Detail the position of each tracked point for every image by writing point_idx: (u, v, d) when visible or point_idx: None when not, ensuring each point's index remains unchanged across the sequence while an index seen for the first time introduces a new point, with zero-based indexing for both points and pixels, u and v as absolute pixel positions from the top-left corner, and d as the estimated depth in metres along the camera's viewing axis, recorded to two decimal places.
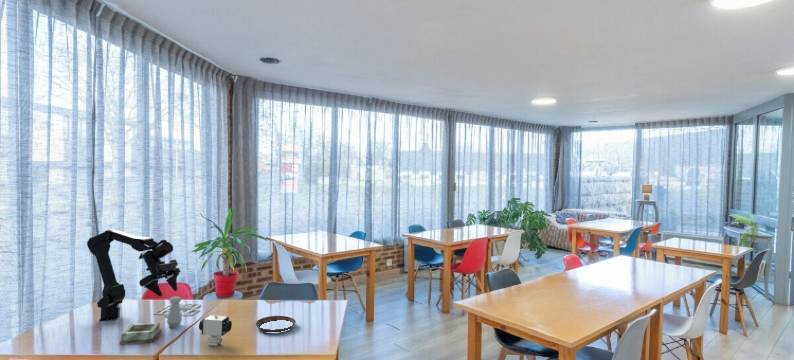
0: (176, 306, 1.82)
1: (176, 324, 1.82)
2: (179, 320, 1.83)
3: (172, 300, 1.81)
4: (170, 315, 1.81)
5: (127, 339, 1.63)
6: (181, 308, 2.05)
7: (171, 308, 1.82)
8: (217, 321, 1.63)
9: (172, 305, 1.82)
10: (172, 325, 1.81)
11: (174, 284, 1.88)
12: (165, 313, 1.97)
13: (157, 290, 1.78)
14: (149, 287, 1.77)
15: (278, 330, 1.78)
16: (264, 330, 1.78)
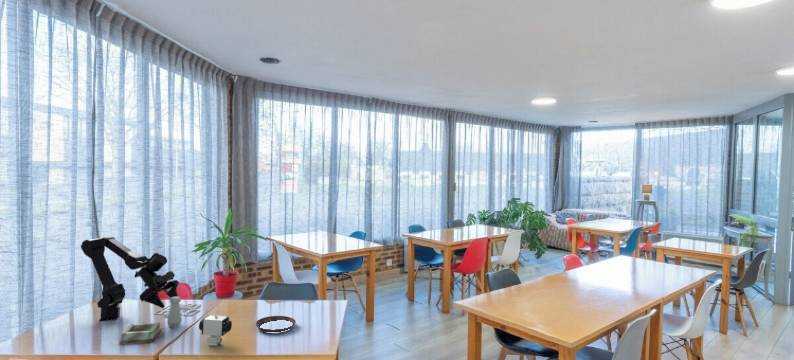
0: (176, 306, 1.82)
1: (176, 324, 1.82)
2: (179, 320, 1.83)
3: (172, 300, 1.81)
4: (170, 315, 1.81)
5: (127, 339, 1.63)
6: (181, 308, 2.05)
7: (171, 308, 1.82)
8: (217, 321, 1.63)
9: (172, 305, 1.82)
10: (172, 325, 1.81)
11: (175, 295, 1.89)
12: (164, 313, 1.97)
13: (159, 302, 1.79)
14: (150, 301, 1.78)
15: (278, 330, 1.78)
16: (264, 330, 1.78)
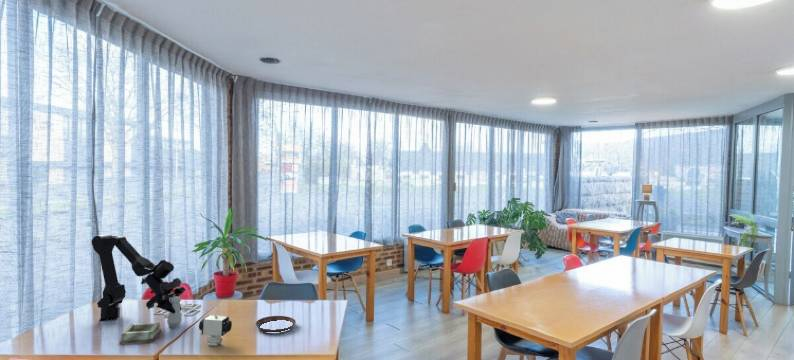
0: (176, 306, 1.82)
1: (176, 324, 1.82)
2: (179, 320, 1.83)
3: (172, 300, 1.81)
4: (170, 315, 1.81)
5: (127, 339, 1.63)
6: (181, 308, 2.05)
7: None
8: (217, 321, 1.63)
9: (172, 305, 1.82)
10: (172, 325, 1.81)
11: None
12: (164, 313, 1.97)
13: (170, 307, 1.81)
14: (161, 306, 1.80)
15: (278, 330, 1.78)
16: (264, 330, 1.78)
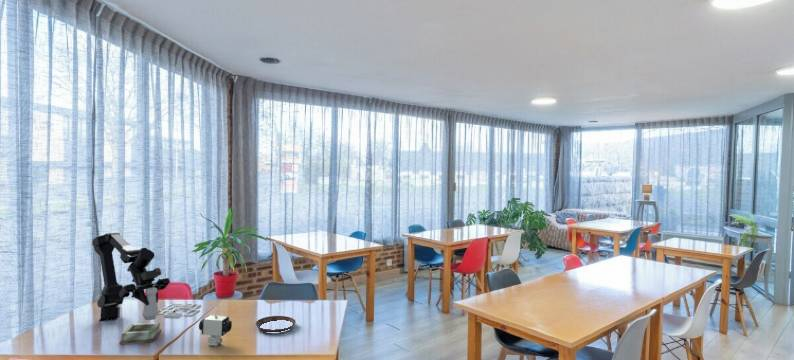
0: (150, 298, 1.71)
1: (150, 317, 1.70)
2: (153, 313, 1.71)
3: (146, 291, 1.71)
4: (144, 307, 1.71)
5: (127, 339, 1.63)
6: (181, 308, 2.05)
7: None
8: (217, 321, 1.63)
9: (147, 296, 1.71)
10: (146, 318, 1.70)
11: None
12: None
13: (143, 299, 1.70)
14: (137, 296, 1.71)
15: (278, 330, 1.78)
16: (264, 330, 1.78)
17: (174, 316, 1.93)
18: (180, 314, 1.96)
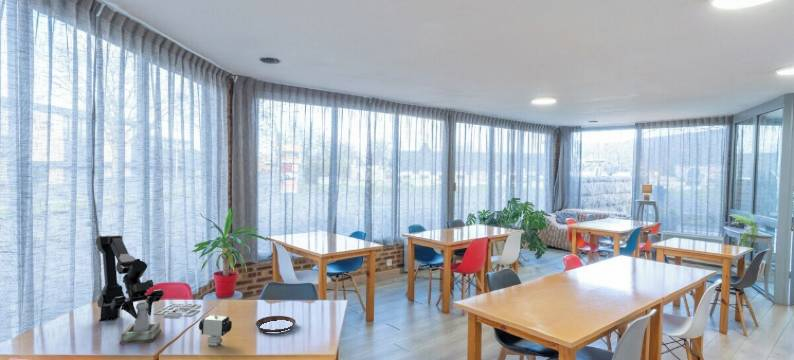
0: (141, 313, 1.68)
1: None
2: (143, 329, 1.67)
3: (137, 306, 1.68)
4: (135, 322, 1.68)
5: (127, 339, 1.63)
6: (181, 308, 2.05)
7: None
8: (217, 321, 1.63)
9: (137, 311, 1.68)
10: None
11: (148, 308, 1.71)
12: (164, 313, 1.97)
13: (132, 312, 1.66)
14: (126, 309, 1.68)
15: (278, 330, 1.78)
16: (264, 330, 1.78)
17: (174, 316, 1.93)
18: (180, 314, 1.96)
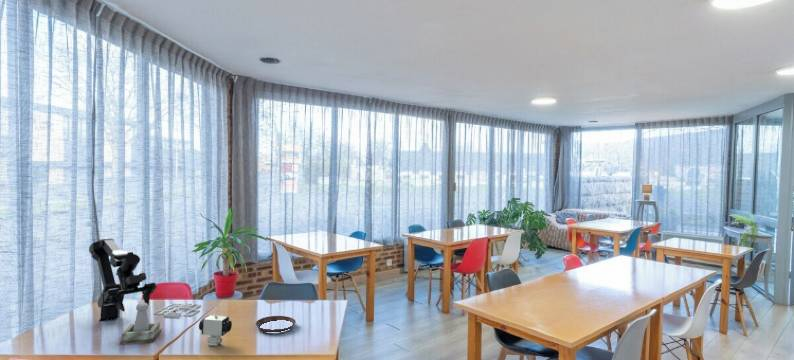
0: (141, 314, 1.68)
1: None
2: (143, 330, 1.67)
3: (137, 307, 1.67)
4: (135, 323, 1.68)
5: (127, 339, 1.63)
6: (181, 308, 2.05)
7: None
8: (217, 321, 1.63)
9: (137, 312, 1.68)
10: None
11: (146, 299, 1.77)
12: (164, 313, 1.97)
13: (119, 305, 1.69)
14: (114, 302, 1.70)
15: (278, 330, 1.78)
16: (264, 330, 1.78)
17: (174, 316, 1.93)
18: (180, 314, 1.96)
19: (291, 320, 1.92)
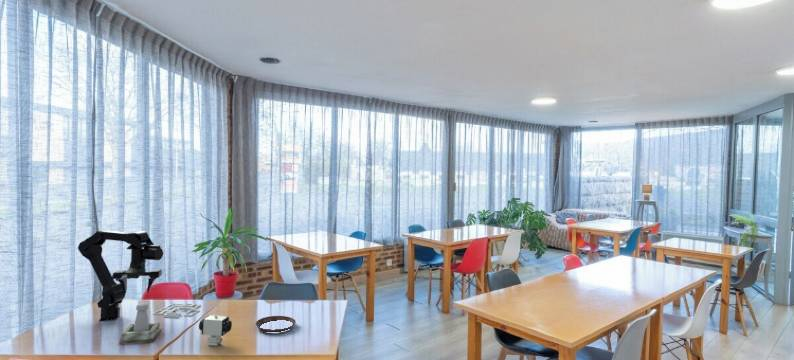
0: (141, 314, 1.68)
1: None
2: (143, 330, 1.67)
3: (137, 307, 1.67)
4: (135, 323, 1.68)
5: (127, 339, 1.63)
6: (181, 308, 2.05)
7: None
8: (217, 321, 1.63)
9: (137, 312, 1.68)
10: None
11: (148, 286, 1.88)
12: None
13: None
14: None
15: (278, 330, 1.78)
16: (264, 330, 1.78)
17: (174, 316, 1.93)
18: (180, 314, 1.96)
19: (291, 320, 1.92)
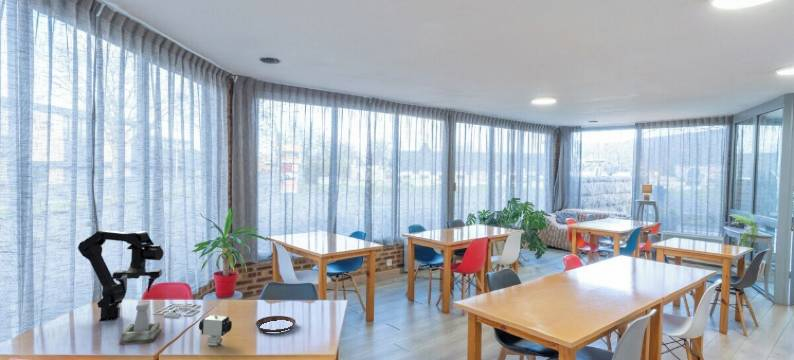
0: (141, 314, 1.68)
1: None
2: (143, 330, 1.67)
3: (137, 307, 1.67)
4: (135, 323, 1.68)
5: (127, 339, 1.63)
6: (181, 308, 2.05)
7: None
8: (217, 321, 1.63)
9: (137, 312, 1.68)
10: None
11: (148, 286, 1.88)
12: None
13: None
14: None
15: (278, 330, 1.78)
16: (264, 330, 1.78)
17: (174, 316, 1.93)
18: (180, 314, 1.96)
19: (291, 320, 1.92)
